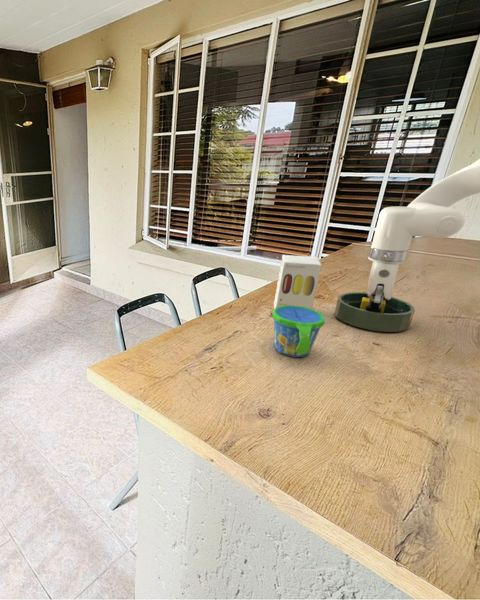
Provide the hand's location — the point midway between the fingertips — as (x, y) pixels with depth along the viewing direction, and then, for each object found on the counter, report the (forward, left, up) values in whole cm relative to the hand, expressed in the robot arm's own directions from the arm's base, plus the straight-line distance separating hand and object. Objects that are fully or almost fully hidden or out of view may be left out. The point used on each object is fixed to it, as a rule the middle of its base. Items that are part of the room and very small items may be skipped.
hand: (370, 316), depth 99 cm
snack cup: (+15, +30, -1) cm, 34 cm away
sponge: (0, 0, -1) cm, 1 cm away
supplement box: (+19, +4, -1) cm, 19 cm away
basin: (0, 0, -1) cm, 1 cm away
